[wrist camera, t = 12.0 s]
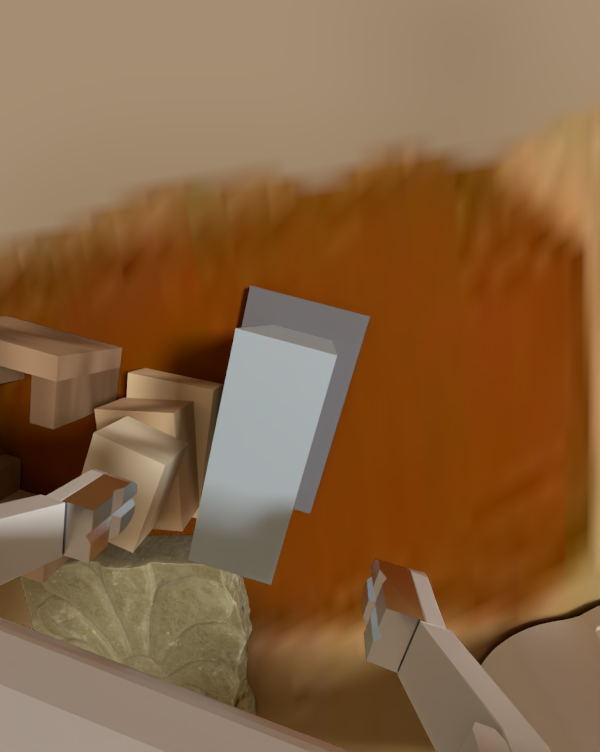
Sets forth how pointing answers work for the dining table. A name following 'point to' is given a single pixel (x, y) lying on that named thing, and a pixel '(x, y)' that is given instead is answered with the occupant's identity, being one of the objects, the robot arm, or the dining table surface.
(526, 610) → the dining table surface
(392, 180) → the dining table surface
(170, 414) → the offcut middle
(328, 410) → the mat
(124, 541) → the offcut top
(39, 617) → the decorative tile
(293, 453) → the light blue rectangular block
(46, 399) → the rack
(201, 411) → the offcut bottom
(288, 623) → the dining table surface
